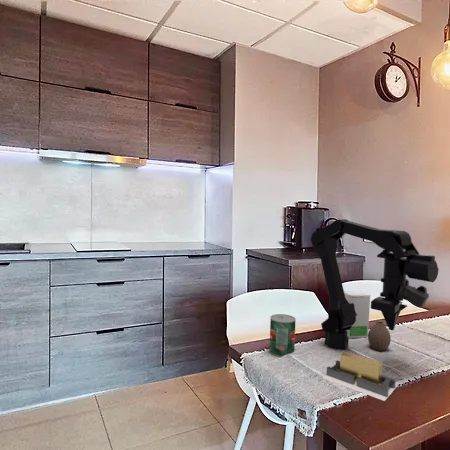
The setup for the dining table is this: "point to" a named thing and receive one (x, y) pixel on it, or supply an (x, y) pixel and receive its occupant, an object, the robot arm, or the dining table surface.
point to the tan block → (361, 367)
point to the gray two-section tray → (362, 380)
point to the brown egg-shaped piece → (379, 336)
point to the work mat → (360, 388)
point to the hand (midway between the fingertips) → (391, 329)
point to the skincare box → (359, 313)
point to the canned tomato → (282, 334)
